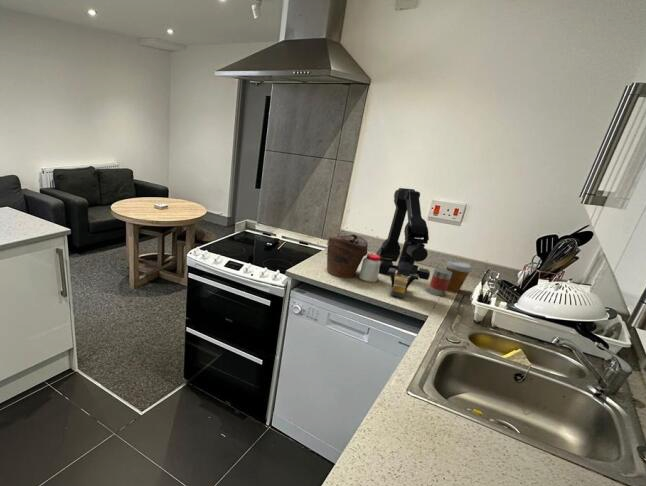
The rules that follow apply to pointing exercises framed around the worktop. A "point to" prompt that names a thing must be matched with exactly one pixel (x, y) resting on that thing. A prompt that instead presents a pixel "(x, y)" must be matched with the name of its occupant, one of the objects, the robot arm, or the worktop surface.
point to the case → (345, 254)
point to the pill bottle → (370, 268)
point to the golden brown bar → (399, 286)
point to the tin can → (439, 281)
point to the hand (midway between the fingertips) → (398, 288)
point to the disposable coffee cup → (457, 274)
